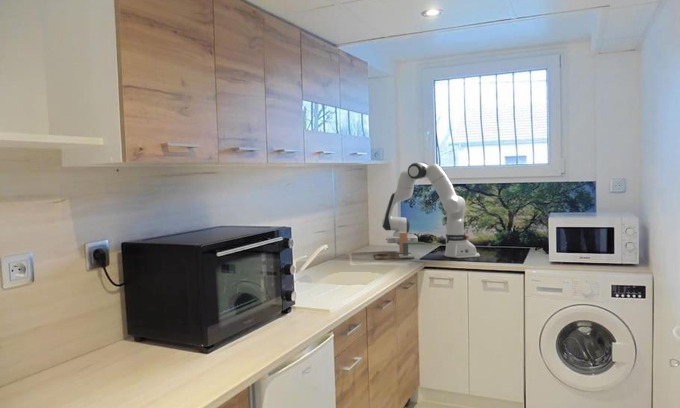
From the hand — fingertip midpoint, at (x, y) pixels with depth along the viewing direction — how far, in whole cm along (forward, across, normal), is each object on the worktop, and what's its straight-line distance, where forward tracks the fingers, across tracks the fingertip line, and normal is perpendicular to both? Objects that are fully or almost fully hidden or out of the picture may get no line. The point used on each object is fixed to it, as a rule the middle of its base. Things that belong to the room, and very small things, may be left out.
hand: (403, 241), depth 328 cm
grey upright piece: (+8, 0, +8) cm, 11 cm away
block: (-1, 0, +7) cm, 7 cm away
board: (+1, -7, +11) cm, 13 cm away
